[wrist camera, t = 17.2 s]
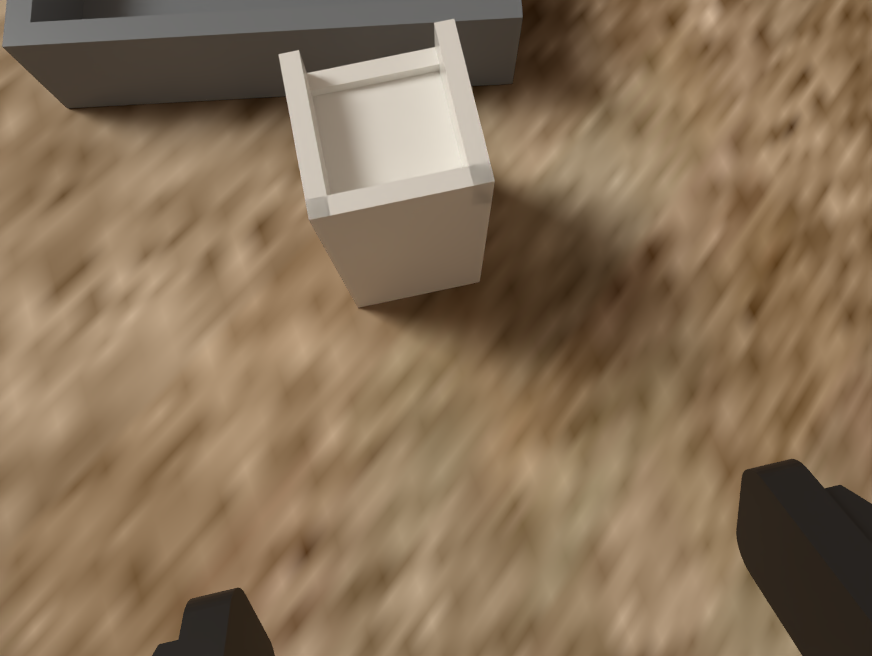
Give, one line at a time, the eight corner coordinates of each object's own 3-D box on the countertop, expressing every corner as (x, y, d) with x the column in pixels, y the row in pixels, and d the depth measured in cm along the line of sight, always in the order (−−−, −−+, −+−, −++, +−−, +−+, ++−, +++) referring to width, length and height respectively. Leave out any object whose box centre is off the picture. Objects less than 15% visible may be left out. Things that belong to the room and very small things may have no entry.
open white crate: (479, 281, 28) (494, 181, 19) (358, 307, 28) (308, 219, 19) (453, 169, 30) (454, 18, 20) (335, 194, 29) (278, 54, 20)
